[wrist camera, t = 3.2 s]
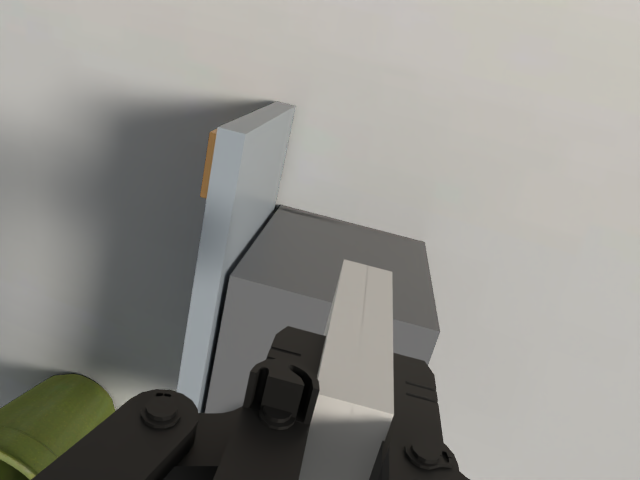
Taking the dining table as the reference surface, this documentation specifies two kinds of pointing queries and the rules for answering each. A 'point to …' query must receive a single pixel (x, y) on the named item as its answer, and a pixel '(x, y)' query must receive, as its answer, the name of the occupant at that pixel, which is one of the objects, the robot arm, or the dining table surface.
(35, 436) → the plant pot
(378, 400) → the robot arm
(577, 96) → the dining table surface
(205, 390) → the side door
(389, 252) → the block
